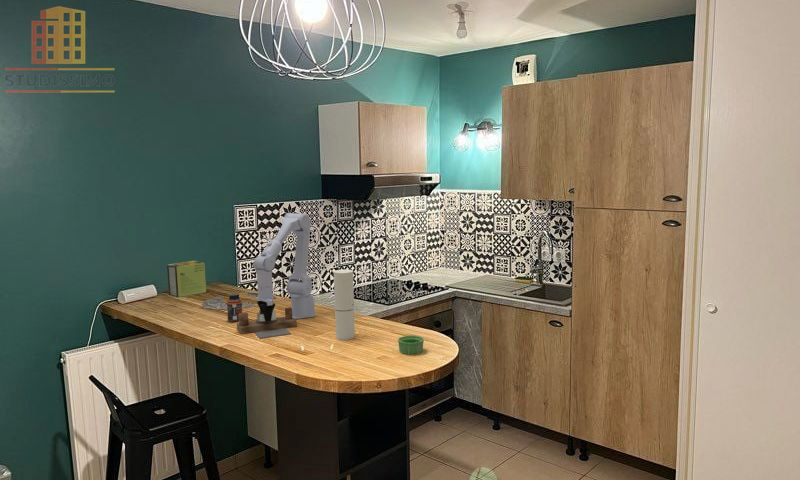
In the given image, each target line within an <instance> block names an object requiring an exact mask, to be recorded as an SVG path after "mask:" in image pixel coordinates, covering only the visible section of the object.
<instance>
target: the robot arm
mask: <svg viewBox="0 0 800 480" xmlns="http://www.w3.org/2000/svg"><path fill="white" fill-rule="evenodd" d="M281 221H282V225H281V226H280V228H279V230H278V232H277V234H276V236H275V237H274V239H273V240H269V241H268V242H267V245H266V246H265V248H264V249H263V251H262V252H261V253H260V255H258V256H256V257H255V259H254V260H253V263H252V266H253V268H254V270H255V274H256V276H257V277H256V279H257V293H258V297H256V298H255V300H260V301H257V304H258V306H257V307H259V311H260V310H263V313H264V318H265V321H266V322H267V321H271V318H272V313H273V311H274V310H275V307H276V303H275V302H273V296H274V292H273V290H274V289H273V271H272V270H273V269H274V268H275V266H276V261H277V257H278V256H279V254H280V253H281V251H282V249H283V247H282V244H283V243H284V242H285V241H286V239H287V238H288V236H289V235H290V234H291V233H294V234H295V236H296V242H295V243H296V244H295V250H294V251H295V253H294V266H293V272H292V273H291V274H290V275H289V276H288V281H287V284H286V293H288V294H289V297H290V298H291V299H290V302H291V303H290V304H291V305H290V307H291V308H292V317H293V318H294V319H295V320H297V319H298V320H299V319H306V318H314V317H316V310H315V309H316V307H315V306H316V304H315V298H314V295H313V294H311V293H312V289H313V284H312V278H311V276H310V275H308V273H307V272H308V271H307V270H308V263H309V262H308V261H309V250H310V235H311V234H310V233H311V225H312V224H311V222H312V219H311V218H310V216H309V214H307V213H295V212H294V213H293V212H292V213H291V212H287V213H286V214H284V217H283V218H282V220H281Z"/></svg>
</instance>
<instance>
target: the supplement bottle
mask: <svg viewBox="0 0 800 480" xmlns="http://www.w3.org/2000/svg"><path fill="white" fill-rule="evenodd" d="M239 294H240V293H237V292H235V293H230V294H228V295H229V299H228V300H227V310H226V311H227V321H228V322H229V323H239V313H243V309H242V300H241V299H240V298H239Z"/></svg>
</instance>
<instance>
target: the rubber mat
mask: <svg viewBox="0 0 800 480" xmlns="http://www.w3.org/2000/svg"><path fill="white" fill-rule="evenodd" d="M254 334H255V335H256V336H257V337H258V338H259V339H267V338H268V339H269V338H274V337H280V336H288V335H289V336H290V335H292V332H290V330H288V328H283V329H276V330H269V331H261V332H254Z"/></svg>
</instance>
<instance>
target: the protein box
mask: <svg viewBox="0 0 800 480" xmlns="http://www.w3.org/2000/svg"><path fill="white" fill-rule="evenodd" d="M166 268H167V284H168V294H169V295H170V296H173V297H177V298H181V297H188V296H193V295H198V294H204V293H207V282H206V264H205V261H198V260H191V261H182V262H175V263H170V264H167V265H166Z"/></svg>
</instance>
